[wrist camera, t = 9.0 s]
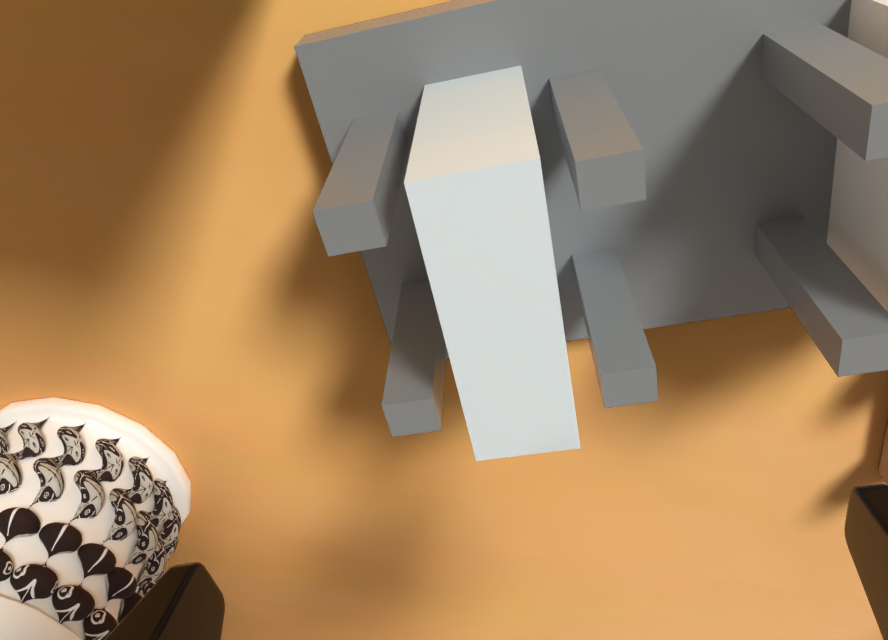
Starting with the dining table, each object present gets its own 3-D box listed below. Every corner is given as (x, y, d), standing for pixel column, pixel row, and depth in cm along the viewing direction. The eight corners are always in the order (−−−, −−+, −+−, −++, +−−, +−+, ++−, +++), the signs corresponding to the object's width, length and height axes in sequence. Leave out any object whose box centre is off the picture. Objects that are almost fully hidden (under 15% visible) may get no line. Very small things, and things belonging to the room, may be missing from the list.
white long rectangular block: (555, 303, 21) (580, 448, 16) (476, 315, 21) (475, 460, 16) (520, 65, 17) (540, 157, 12) (424, 85, 17) (403, 182, 12)
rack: (989, 252, 20) (1177, 400, 15) (401, 344, 23) (378, 497, 18) (1091, -146, 15) (1443, -143, 10) (304, 35, 18) (227, 119, 12)
